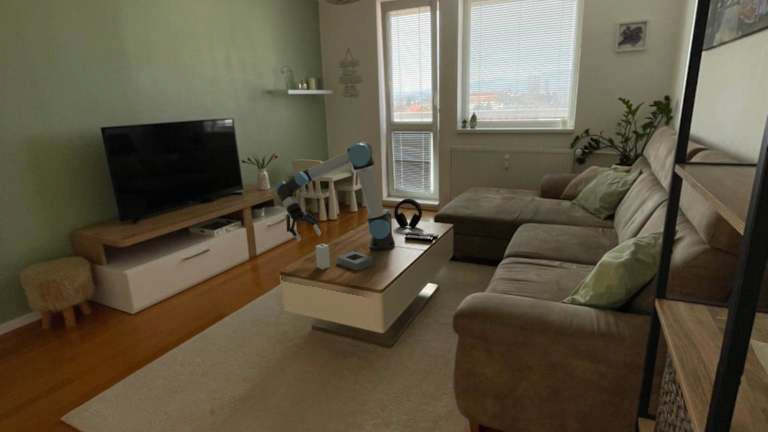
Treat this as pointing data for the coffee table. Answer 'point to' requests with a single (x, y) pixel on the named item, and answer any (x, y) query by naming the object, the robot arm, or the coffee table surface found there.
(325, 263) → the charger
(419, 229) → the coffee table surface
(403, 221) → the headphones
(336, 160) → the robot arm
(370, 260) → the block
